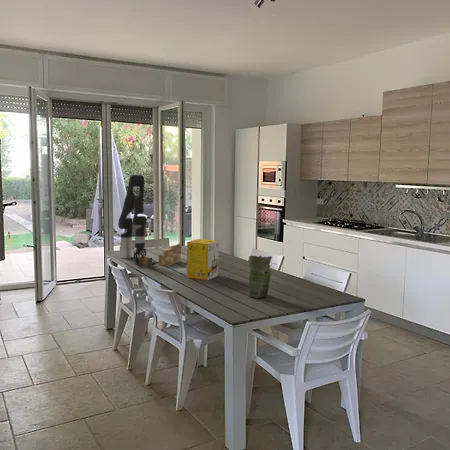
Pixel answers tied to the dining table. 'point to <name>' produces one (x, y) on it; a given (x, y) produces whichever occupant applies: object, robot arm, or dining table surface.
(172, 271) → the dining table surface
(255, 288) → the green vase
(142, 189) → the robot arm
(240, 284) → the dining table surface
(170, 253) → the light wood notched block
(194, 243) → the packaging box
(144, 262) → the brown rectangular block
